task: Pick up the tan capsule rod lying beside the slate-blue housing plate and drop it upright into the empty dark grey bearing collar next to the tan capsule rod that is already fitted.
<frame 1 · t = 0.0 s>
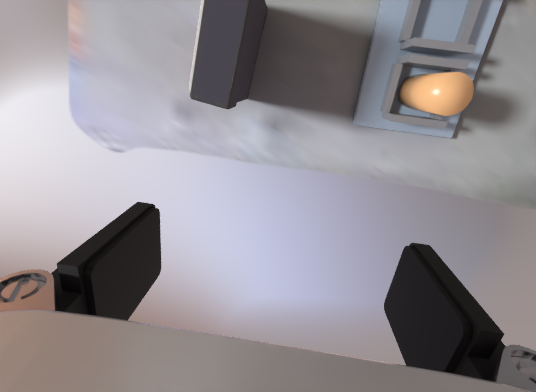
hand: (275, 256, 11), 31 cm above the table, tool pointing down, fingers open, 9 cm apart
dark grey slab: (245, 53, 37), on the table
housing: (421, 57, 35), on the table
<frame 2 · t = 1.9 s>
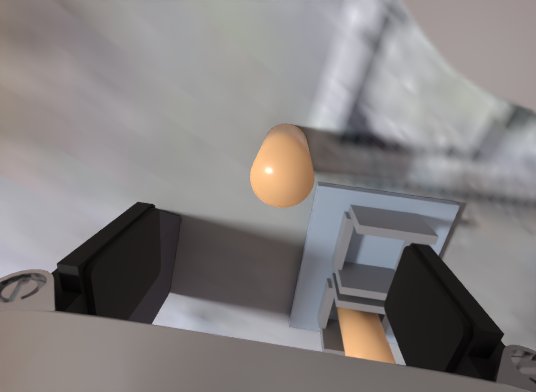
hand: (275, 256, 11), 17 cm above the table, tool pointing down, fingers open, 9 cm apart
dark grey slab: (163, 252, 32), on the table
housing: (361, 268, 30), on the table
tan capsule rod: (285, 146, 26), on the table
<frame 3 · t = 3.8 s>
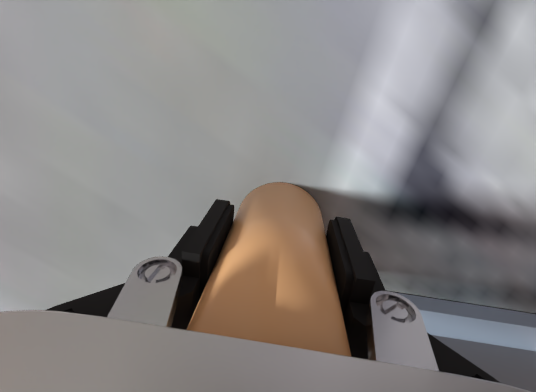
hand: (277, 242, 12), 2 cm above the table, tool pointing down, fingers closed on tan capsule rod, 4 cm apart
tan capsule rod: (279, 222, 13), on the table, touching gripper
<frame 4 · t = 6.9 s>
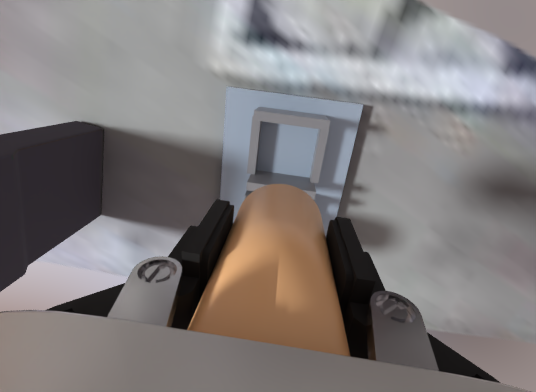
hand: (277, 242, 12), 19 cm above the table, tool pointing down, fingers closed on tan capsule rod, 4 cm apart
dark grey slab: (91, 170, 32), on the table
housing: (281, 181, 31), on the table
tan capsule rod: (279, 223, 13), point 17 cm above the table, touching gripper
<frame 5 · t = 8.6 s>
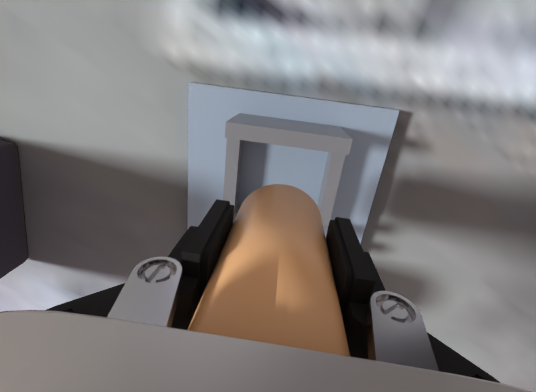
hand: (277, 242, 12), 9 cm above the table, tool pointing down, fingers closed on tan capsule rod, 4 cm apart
dark grey slab: (8, 200, 23), on the table
housing: (274, 218, 22), on the table
tan capsule rod: (279, 223, 13), point 7 cm above the table, touching gripper
when the fingers open (4 cm above the table, at t = 10.0 s): tan capsule rod stays where it is, resting on housing.
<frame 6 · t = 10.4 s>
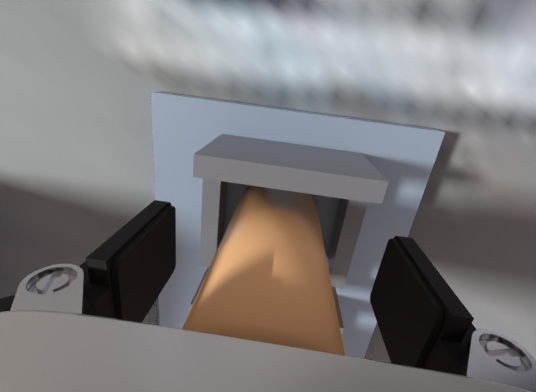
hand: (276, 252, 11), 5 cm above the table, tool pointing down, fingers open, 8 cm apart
housing: (271, 266, 17), on the table
tan capsule rod: (277, 213, 14), point 1 cm above the table, touching housing
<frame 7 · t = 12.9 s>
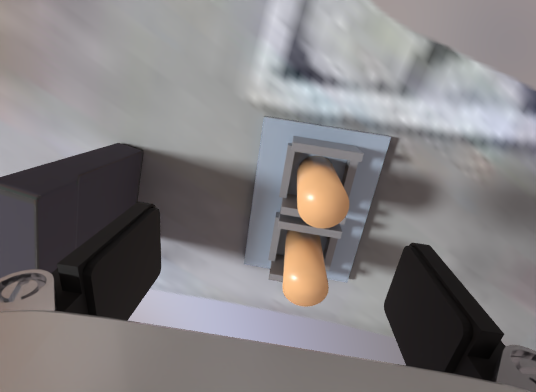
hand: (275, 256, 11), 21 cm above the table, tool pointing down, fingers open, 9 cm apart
dark grey slab: (127, 188, 34), on the table
housing: (309, 204, 33), on the table
tan capsule rod: (315, 173, 30), point 1 cm above the table, touching housing
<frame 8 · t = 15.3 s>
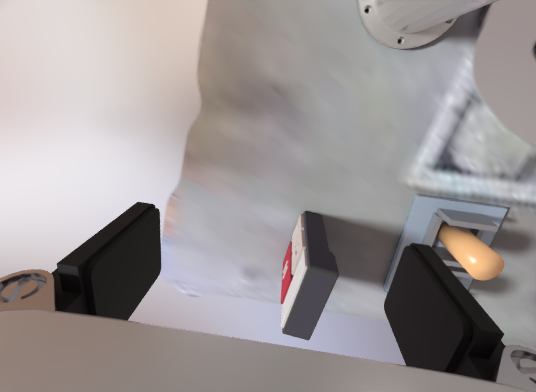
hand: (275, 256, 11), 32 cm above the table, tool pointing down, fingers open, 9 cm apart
dark grey slab: (302, 239, 47), on the table
housing: (438, 250, 46), on the table
tan capsule rod: (449, 231, 43), point 1 cm above the table, touching housing
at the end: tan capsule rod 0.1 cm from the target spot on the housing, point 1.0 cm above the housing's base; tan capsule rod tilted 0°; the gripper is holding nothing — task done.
